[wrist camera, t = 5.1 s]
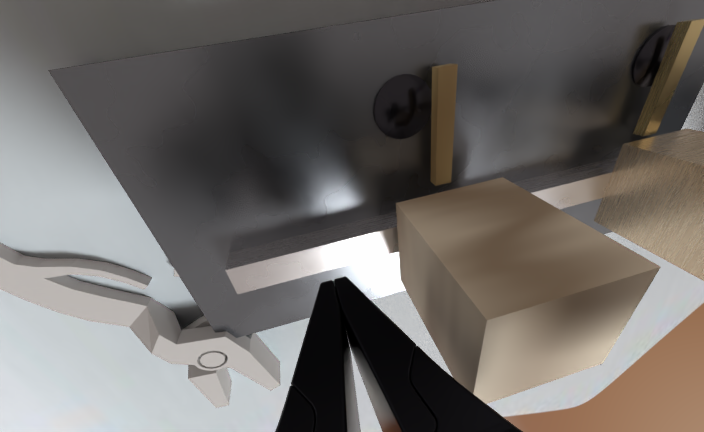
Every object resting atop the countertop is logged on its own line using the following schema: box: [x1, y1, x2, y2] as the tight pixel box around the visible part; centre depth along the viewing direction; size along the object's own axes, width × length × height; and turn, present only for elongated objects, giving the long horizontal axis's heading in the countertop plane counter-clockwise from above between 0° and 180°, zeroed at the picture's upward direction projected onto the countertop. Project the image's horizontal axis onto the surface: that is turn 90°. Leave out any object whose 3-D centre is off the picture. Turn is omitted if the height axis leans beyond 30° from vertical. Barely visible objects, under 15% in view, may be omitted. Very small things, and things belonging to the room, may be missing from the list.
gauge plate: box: [48, 0, 704, 338], centre depth 9 cm, size 22×11×7 cm, turn 98°
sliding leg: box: [396, 64, 660, 404], centre depth 8 cm, size 4×7×6 cm, turn 8°
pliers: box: [0, 243, 280, 408], centre depth 11 cm, size 10×2×15 cm
